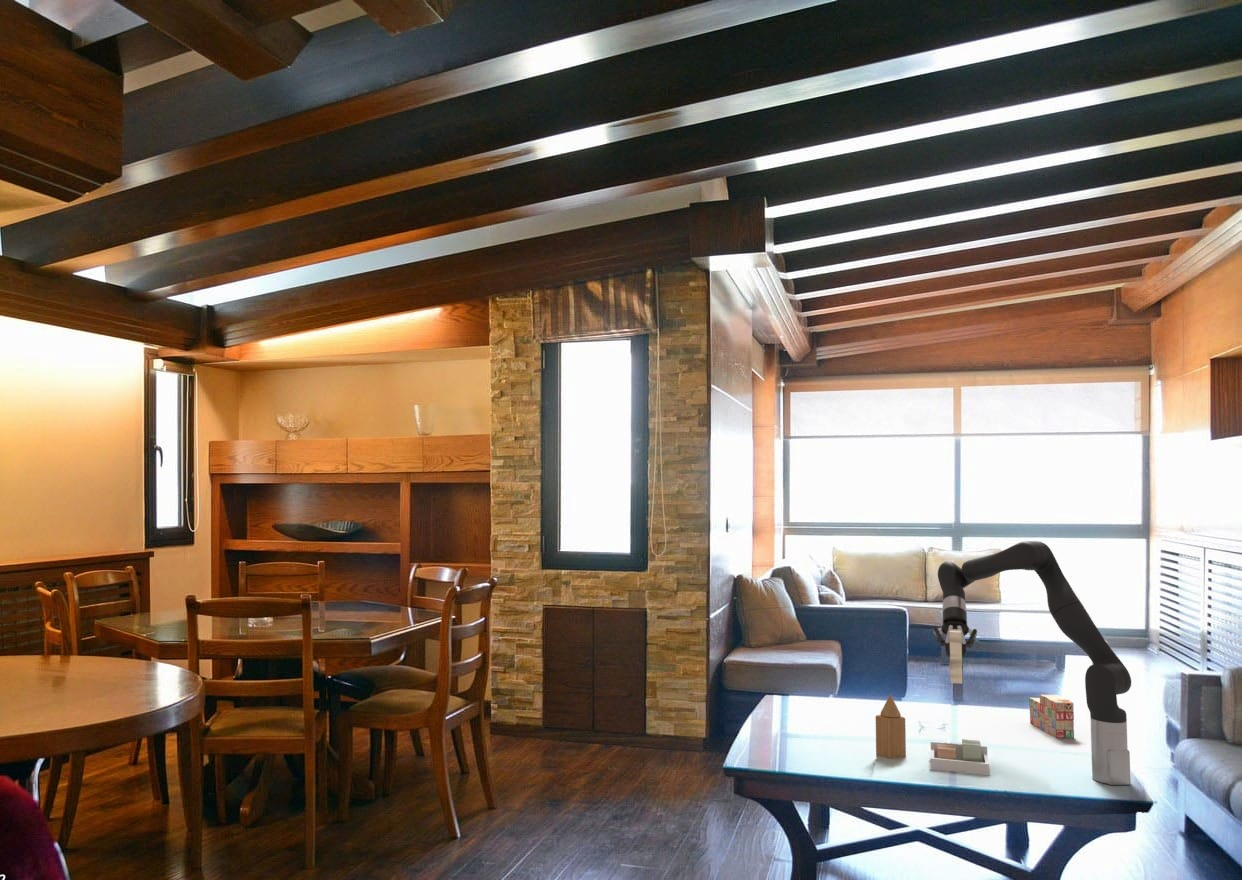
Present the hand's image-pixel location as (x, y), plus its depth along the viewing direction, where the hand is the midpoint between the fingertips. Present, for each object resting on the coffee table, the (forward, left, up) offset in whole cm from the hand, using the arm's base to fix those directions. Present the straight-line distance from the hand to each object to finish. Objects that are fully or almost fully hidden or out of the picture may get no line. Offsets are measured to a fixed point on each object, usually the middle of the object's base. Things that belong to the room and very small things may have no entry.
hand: (955, 655), depth 284 cm
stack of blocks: (+28, -48, -31) cm, 64 cm away
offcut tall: (-18, +4, -29) cm, 35 cm away
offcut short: (-15, +11, -29) cm, 35 cm away
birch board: (+2, -1, -8) cm, 9 cm away
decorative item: (-4, +23, -31) cm, 39 cm away
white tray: (-12, +5, -31) cm, 34 cm away
